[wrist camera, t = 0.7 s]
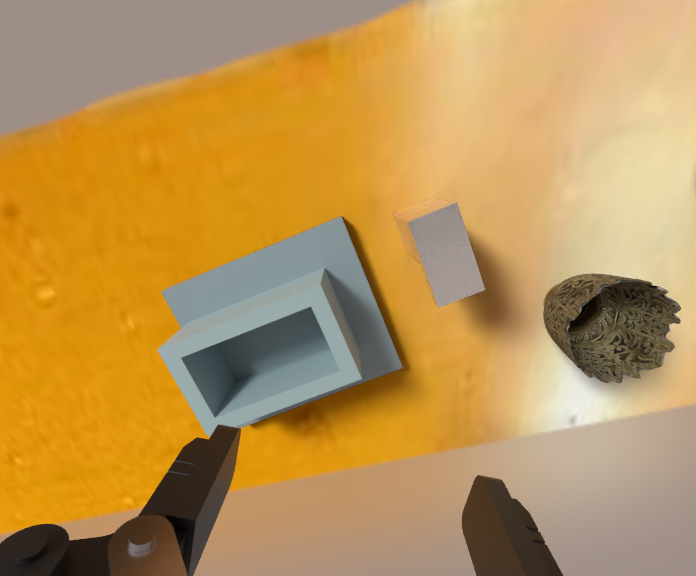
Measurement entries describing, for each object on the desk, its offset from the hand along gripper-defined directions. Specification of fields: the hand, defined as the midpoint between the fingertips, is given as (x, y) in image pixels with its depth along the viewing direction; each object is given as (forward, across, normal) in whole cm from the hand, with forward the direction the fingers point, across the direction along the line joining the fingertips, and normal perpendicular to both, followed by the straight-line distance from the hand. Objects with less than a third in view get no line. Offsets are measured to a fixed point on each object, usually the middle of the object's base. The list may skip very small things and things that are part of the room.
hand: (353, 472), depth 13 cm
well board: (+21, +5, +4) cm, 22 cm away
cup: (+22, -18, -3) cm, 28 cm away
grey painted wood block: (+21, -5, -6) cm, 22 cm away
